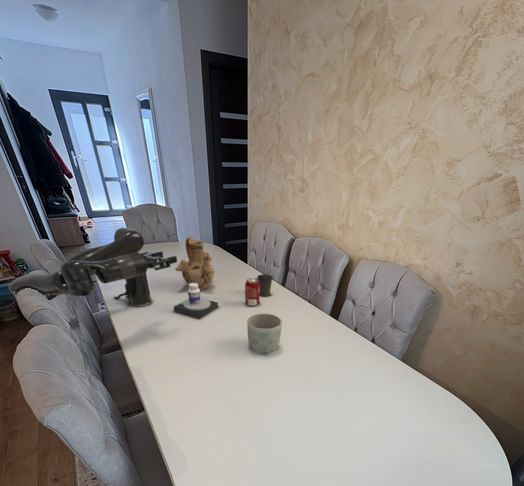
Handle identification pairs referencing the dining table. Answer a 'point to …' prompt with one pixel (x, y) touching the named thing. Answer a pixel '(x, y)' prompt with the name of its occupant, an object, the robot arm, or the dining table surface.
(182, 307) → the scale
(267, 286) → the coffee cup
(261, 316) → the planter
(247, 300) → the soda can
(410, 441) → the dining table surface
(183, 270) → the ceramic vessel
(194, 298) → the pill bottle
